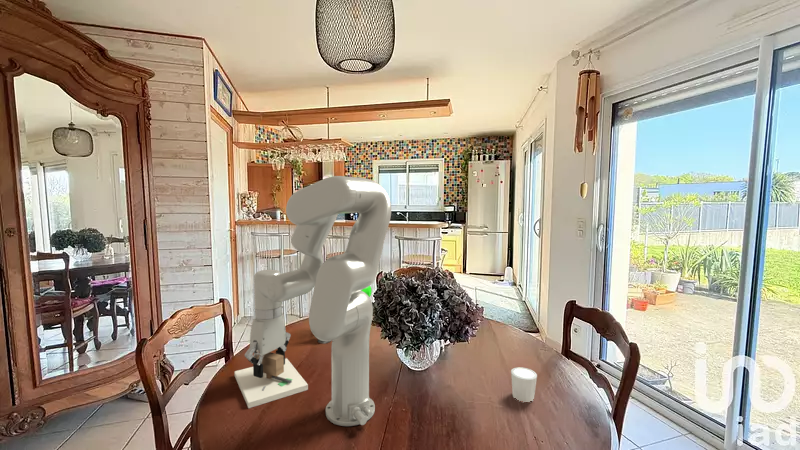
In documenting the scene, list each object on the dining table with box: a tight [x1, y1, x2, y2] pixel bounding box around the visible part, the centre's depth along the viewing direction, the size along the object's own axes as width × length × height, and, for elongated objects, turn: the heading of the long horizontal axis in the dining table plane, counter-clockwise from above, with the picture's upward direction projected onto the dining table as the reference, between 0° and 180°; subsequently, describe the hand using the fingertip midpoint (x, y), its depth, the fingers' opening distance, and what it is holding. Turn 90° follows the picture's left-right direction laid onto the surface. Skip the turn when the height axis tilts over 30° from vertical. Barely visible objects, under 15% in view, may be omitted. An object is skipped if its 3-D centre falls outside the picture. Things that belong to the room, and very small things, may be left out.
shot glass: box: [510, 366, 538, 403], centre depth 97 cm, size 7×7×7 cm
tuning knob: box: [257, 351, 292, 383], centre depth 102 cm, size 12×3×7 cm, turn 65°
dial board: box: [234, 357, 309, 409], centre depth 103 cm, size 20×16×2 cm
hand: (269, 369), depth 103 cm, fingers open, 8 cm apart
